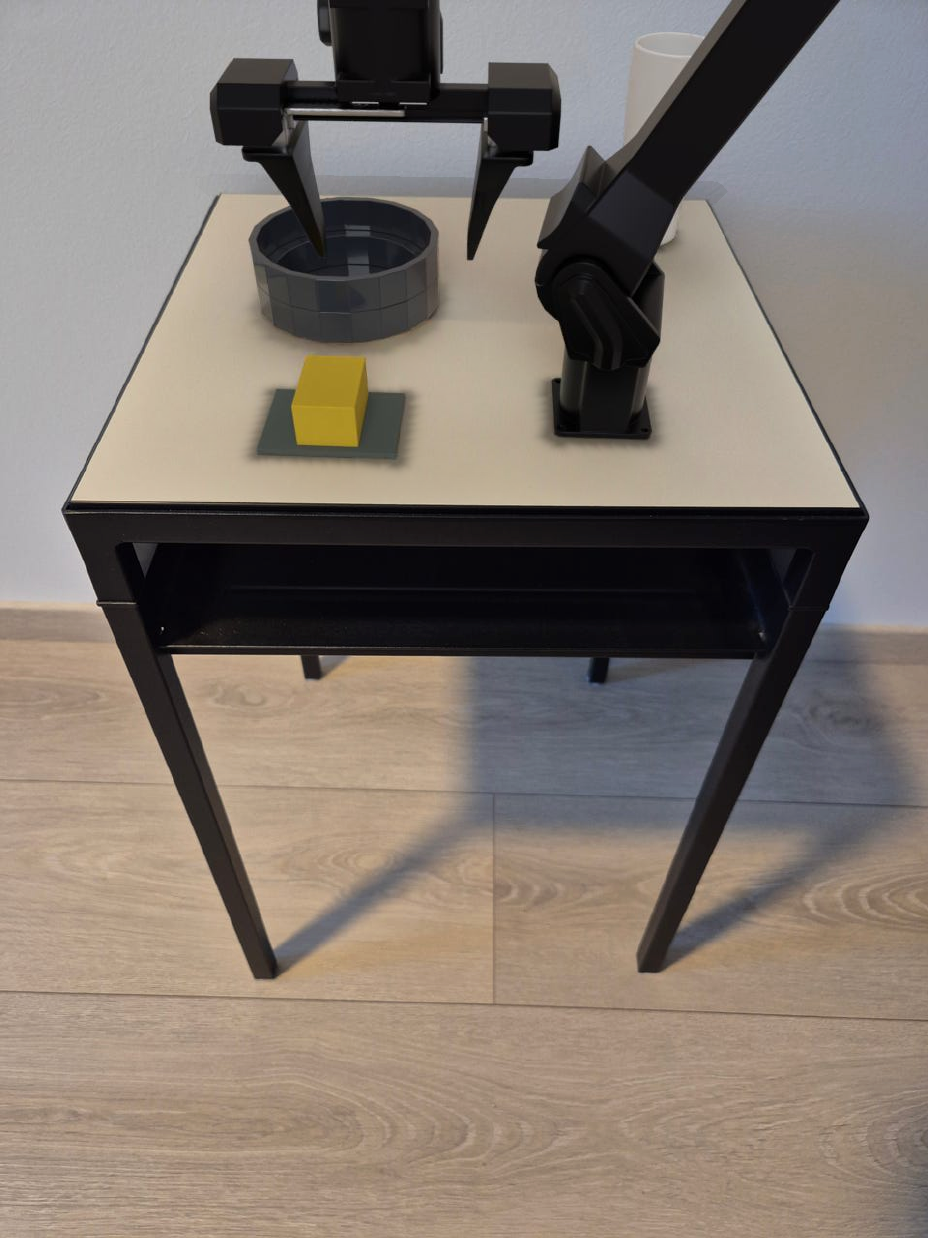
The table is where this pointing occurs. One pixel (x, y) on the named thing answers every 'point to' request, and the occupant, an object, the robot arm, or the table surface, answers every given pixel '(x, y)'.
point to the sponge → (330, 401)
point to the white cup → (655, 83)
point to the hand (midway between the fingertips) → (396, 256)
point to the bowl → (348, 271)
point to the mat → (373, 443)
